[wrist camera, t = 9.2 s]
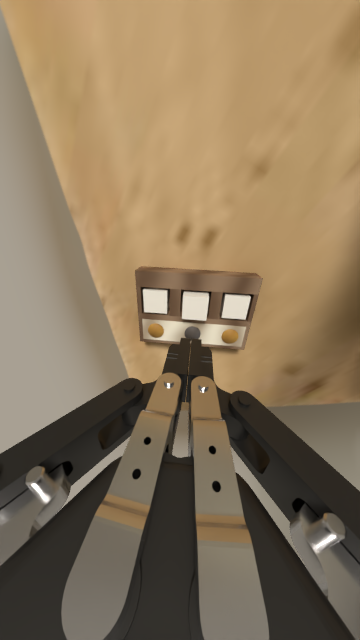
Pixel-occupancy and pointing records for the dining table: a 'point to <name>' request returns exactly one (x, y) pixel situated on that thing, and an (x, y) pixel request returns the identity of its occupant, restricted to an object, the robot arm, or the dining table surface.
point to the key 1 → (156, 300)
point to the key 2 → (234, 305)
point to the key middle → (195, 305)
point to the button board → (214, 327)
